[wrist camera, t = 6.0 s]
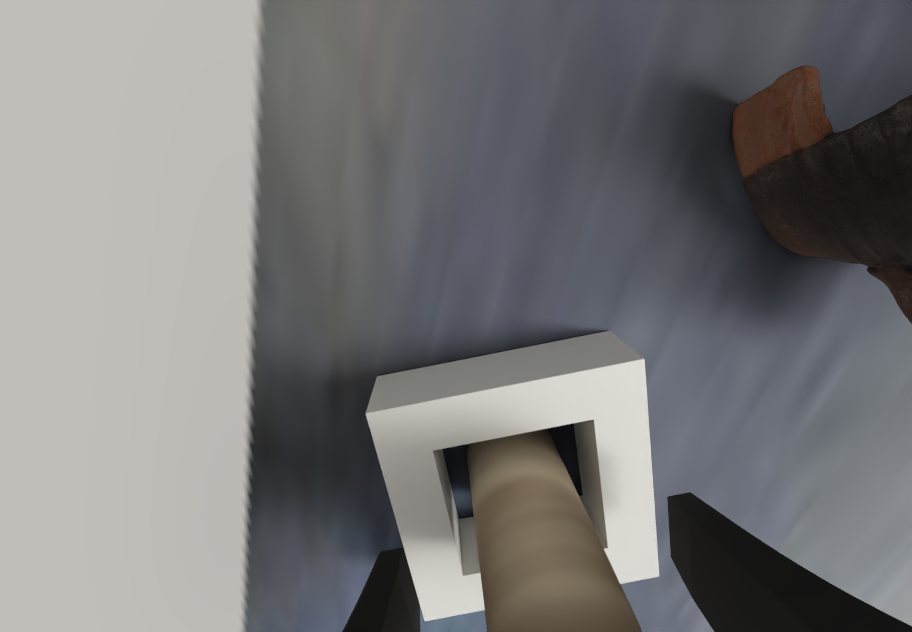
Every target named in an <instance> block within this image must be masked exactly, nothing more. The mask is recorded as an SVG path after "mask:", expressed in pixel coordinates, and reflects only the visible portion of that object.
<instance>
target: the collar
mask: <svg viewBox="0 0 912 632" xmlns="http://www.w3.org/2000/svg"><path fill="white" fill-rule="evenodd" d="M366 417H367V421H368V424H369V428H370V431H371V435H372V438H373V442H374V445H375V449H376V452H377V456H378V459H379V463H380V466H381V470H382V473H383V477H384V480H385V484H386V487H387V491H388V494H389V498H390V501H391V505H392V508H393V512H394V515H395V519H396V522H397V526H398V529H399V533H400V536H401V540H402V543H403V547H404V550H405V554H406V557H407V561H408V564H409V568H410V571H411V575H412V578H413V582H414V585H415V589H416V592H417V596H418V599H419V603H420V606H421V610H422V613H423V617H424V620H425V621H429V620H434V619H440V618H445V617H450V616H455V615H461V614H466V613H471V612H476V611H481V610H485V608H484V599H483V591H482V582H481V574H480V565H479V557H478V548H477V540H476V531H475V523H474V516H473V517H468V518H462V519H458V514H457V510H456V506H455V501H454V497H453V493H452V488H451V484H450V480H449V476H448V471H447V467H446V463H445V458H444V454H443V450H442V449H444V448H450V447H455V446H460V445H465V444H470V443H475V442H480V441H485V440H491V439H496V438H501V437H506V436H511V435H516V434H521V433H526V432H532V431H537V430H542V429H547V428H552V427H557V426H562V425H567V424H572V423H573V424H574V432H575V440H576V447H577V455H578V463H579V471H580V479H581V487H582V495H581V496H579V497H580V499H581V501H582V504H583V506H584V508H585V510H586V512H587V514H588V516H589V518H590V521H591V523H592V525H593V527H594V529H595V531H596V533H597V536H598V538H599V540H600V542H601V544H602V546H603V548H604V551H605V553H606V555H607V557H608V559H609V561H610V563H611V565H612V568H613V570H614V572H615V574H616V576H617V578H618V580H619V583H620V584H622V583H628V582H633V581H638V580H643V579H648V578H654V577H659V566H658V551H657V537H656V522H655V507H654V492H653V478H652V463H651V448H650V433H649V419H648V404H647V389H646V374H645V360H644V358H643V357H642V356H640V355H639V354H638V353H637V352H635V351H634V350H633V349H632V348H630V347H629V346H628V345H627V344H626V343H624V342H623V341H622V340H621V339H619V338H618V337H617V336H616V335H614V334H613V333H612V332H611V331H605V332H600V333H595V334H590V335H585V336H580V337H575V338H570V339H565V340H560V341H554V342H549V343H544V344H539V345H534V346H529V347H524V348H519V349H514V350H509V351H504V352H499V353H494V354H488V355H483V356H478V357H473V358H468V359H463V360H458V361H453V362H448V363H443V364H438V365H433V366H428V367H423V368H417V369H412V370H407V371H402V372H397V373H392V374H387V375H382V376H377V378H376V381H375V384H374V388H373V391H372V394H371V397H370V401H369V404H368V407H367V410H366Z"/></svg>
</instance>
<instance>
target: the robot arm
mask: <svg viewBox="0 0 912 632" xmlns="http://www.w3.org/2000/svg"><path fill="white" fill-rule="evenodd" d="M668 514H669V531H670V548H671V558H672V560H673V562H674V564H675V566H676V568H677V570H678V572H679V573H680V575H681V577H682V579H683V581H684V583H685V585H686V587H687V589H688V591H689V592H690V594H691V596H692V598H693V599H694V601H695V603H696V604H697V606H698V607H699V609H700V610H701V612H702V613H703V615H704V616H705V618H706V619H707V621H708V623H709V624H710V626H711V627H712V629H713V630H714V632H912V626H910V625H908V624H906V623H904V622H902V621H900V620H898V619H896V618H894V617H892V616H890V615H888V614H886V613H884V612H882V611H880V610H878V609H876V608H875V607H873V606H871V605H869V604H867V603H865V602H863V601H861V600H859V599H858V598H856V597H854V596H852V595H850V594H848V593H846V592H845V591H843V590H841V589H839V588H837V587H836V586H834V585H832V584H830V583H829V582H827V581H825V580H823V579H822V578H820V577H818V576H817V575H815V574H813V573H812V572H810V571H808V570H807V569H805V568H803V567H802V566H800V565H798V564H797V563H795V562H793V561H792V560H790V559H789V558H787V557H785V556H784V555H782V554H781V553H779V552H777V551H776V550H774V549H773V548H771V547H770V546H768V545H767V544H765V543H764V542H762V541H761V540H759V539H757V538H756V537H754V536H753V535H751V534H750V533H748V532H747V531H745V530H744V529H743V528H741V527H740V526H738V525H737V524H735V523H734V522H732V521H731V520H729V519H728V518H726V517H725V516H724V515H722V514H721V513H719V512H718V511H716V510H715V509H713V508H712V507H711V506H709V505H708V504H706V503H705V502H703V501H702V500H700V499H699V498H698V497H696V496H695V495H693V494H692V493H690V492H689V493H684V494H679V495H674V496H669V497H668ZM343 632H420V605H419V601H418V598H417V594H416V591H415V587H414V584H413V580H412V576H411V573H410V569H409V566H408V562H407V559H406V555H405V552H404V548H398V549H393V550H387V551H382V552H381V553H380V554H379V555H378V557H377V559H376V562H375V564H374V567H373V569H372V571H371V573H370V576H369V578H368V580H367V582H366V585H365V587H364V589H363V591H362V593H361V595H360V597H359V599H358V602H357V604H356V606H355V608H354V610H353V612H352V614H351V616H350V618H349V620H348V622H347V624H346V626H345V628H344V630H343Z"/></svg>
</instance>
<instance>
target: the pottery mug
mask: <svg viewBox="0 0 912 632" xmlns="http://www.w3.org/2000/svg"><path fill="white" fill-rule="evenodd" d="M732 136H733V141H734V146H735V156H736V159H737V161H738V164H739V168H740V172H741V175H742V177H743V179H744V186H745V189H746V191H747V194H748V196H749V198H750V200H751V202H752V204H753V210H754V213H755V215H756V216H757V217H758V218H759V219H760V221H761V222H762V223H763V225H764V227H765V229H766V231H767V232H768V234H770V235H771V236H772V238H773V239H774V240H775V241H776V242H777V243H779V244H780V245H782V246H784V247H786V248H787V249H789V250H790V251H792V252H795V253H797V254H799V255H802V256H807V257H821V258H826V259H831V260H837V261H842V262H847V263H857V264H858V263H860V264H863V265H866V266H869V267H868V268H867V271H868V272H869V273H870V274H871V275H873V276H874V277H876V278H878V279H879V280H881V281H882V282H883V283H884V284H886V286H887V287H888V288H889V290H890V291H891V293H892V294H893V296H894V298H895V300H896V302H897V304H898V306H899V307H900V309H901V310H902V312H903V313H904V315H905V316H906V317H907V319H908V320H909V321H910V322H911V323H912V95H910V96H908V97H906V98H904V99H902V100H900V101H899V102H897V103H896V104H895V105H893V106H891V107H890V108H888V109H886V110H885V111H883V112H881V113H879V114H877V115H875V116H873V117H871V118H869V119H867V120H865V121H863V122H861V123H859V124H857V125H855V126H854V127H852V128H851V129H848V130H845V131H842V132H838V133H834V132H833V129H832V126H831V123H830V121H829V120H828V118H827V117H826V115H825V106H824V104H823V101H822V94H821V90H820V82H819V71H818V69H816V68H815V67H812V66H801V67H798V68H795V69H793V70H791V71H789V72H787V73H786V74H784V75H782V76H781V77H779V78H778V79H777V80H776V81H775V82H774V83H773V84H772V85H770V86H769V87H767V88H766V89H764V90H762V91H760V92H758V93H757V94H755V95H753V96H752V97H751V98H749V99H747V100H746V101H744V102H742V103H741V104H739V105H738V106H737V107H736V108H735V110H734V112H733V129H732Z"/></svg>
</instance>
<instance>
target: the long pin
mask: <svg viewBox="0 0 912 632" xmlns="http://www.w3.org/2000/svg"><path fill="white" fill-rule="evenodd" d="M467 464H468V472H469V480H470V489H471V497H472V506H473V514H474V523H475V531H476V540H477V548H478V557H479V565H480V574H481V582H482V591H483V599H484V608H485V616H486V625H487V632H641V628H640V625H639V623H638V621H637V619H636V617H635V615H634V612H633V610H632V608H631V606H630V604H629V602H628V600H627V598H626V595H625V593H624V591H623V589H622V587H621V585H620V583H619V580H618V578H617V576H616V574H615V572H614V570H613V568H612V565H611V563H610V561H609V559H608V557H607V555H606V553H605V551H604V548H603V546H602V544H601V542H600V540H599V538H598V536H597V533H596V531H595V529H594V527H593V525H592V523H591V521H590V518H589V516H588V514H587V512H586V510H585V508H584V506H583V504H582V501H581V499H580V497H579V495H578V493H577V491H576V489H575V486H574V484H573V482H572V480H571V478H570V476H569V474H568V472H567V469H566V467H565V465H564V463H563V461H562V459H561V457H560V454H559V452H558V450H557V448H556V446H555V444H554V442H553V439H552V437H551V435H550V433H549V432H548V430H547V429H542V430H537V431H532V432H526V433H521V434H516V435H511V436H506V437H501V438H496V439H491V440H485V441H480V442H475V443H470V444H468V448H467Z"/></svg>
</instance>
